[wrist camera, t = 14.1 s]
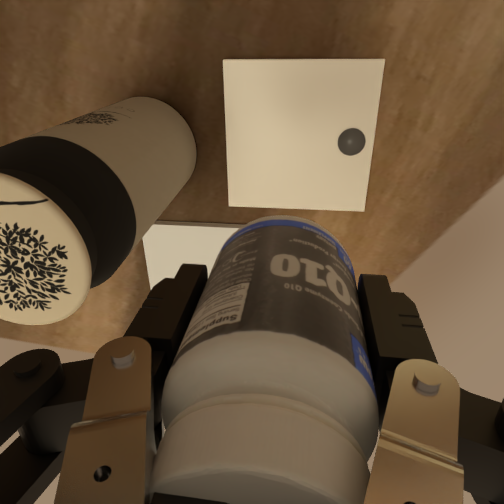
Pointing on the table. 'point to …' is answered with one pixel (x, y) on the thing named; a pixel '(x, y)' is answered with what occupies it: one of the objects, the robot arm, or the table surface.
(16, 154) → the travel mug
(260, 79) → the one-dot pad
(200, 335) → the pill bottle
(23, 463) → the robot arm
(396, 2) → the table surface
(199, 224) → the two-dot pad
